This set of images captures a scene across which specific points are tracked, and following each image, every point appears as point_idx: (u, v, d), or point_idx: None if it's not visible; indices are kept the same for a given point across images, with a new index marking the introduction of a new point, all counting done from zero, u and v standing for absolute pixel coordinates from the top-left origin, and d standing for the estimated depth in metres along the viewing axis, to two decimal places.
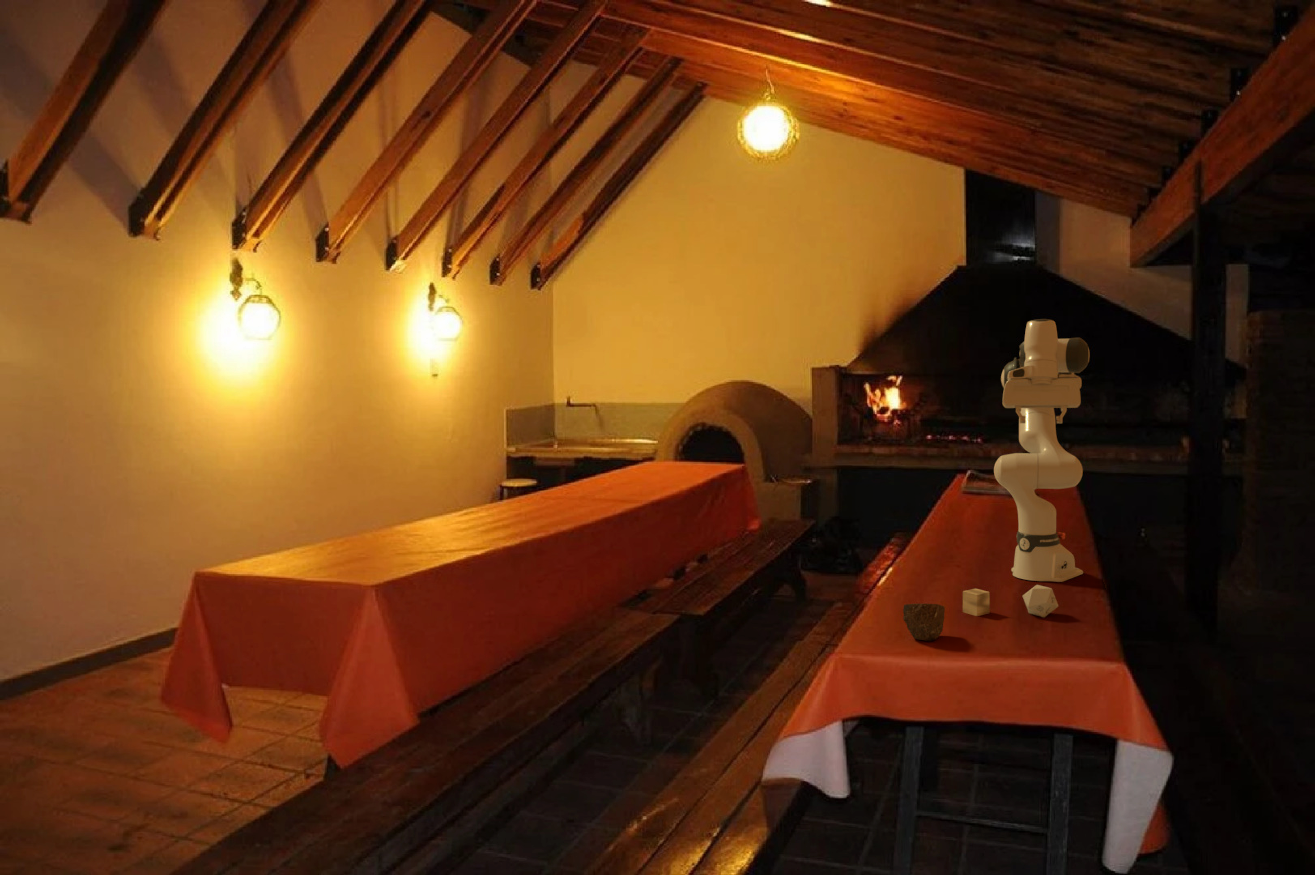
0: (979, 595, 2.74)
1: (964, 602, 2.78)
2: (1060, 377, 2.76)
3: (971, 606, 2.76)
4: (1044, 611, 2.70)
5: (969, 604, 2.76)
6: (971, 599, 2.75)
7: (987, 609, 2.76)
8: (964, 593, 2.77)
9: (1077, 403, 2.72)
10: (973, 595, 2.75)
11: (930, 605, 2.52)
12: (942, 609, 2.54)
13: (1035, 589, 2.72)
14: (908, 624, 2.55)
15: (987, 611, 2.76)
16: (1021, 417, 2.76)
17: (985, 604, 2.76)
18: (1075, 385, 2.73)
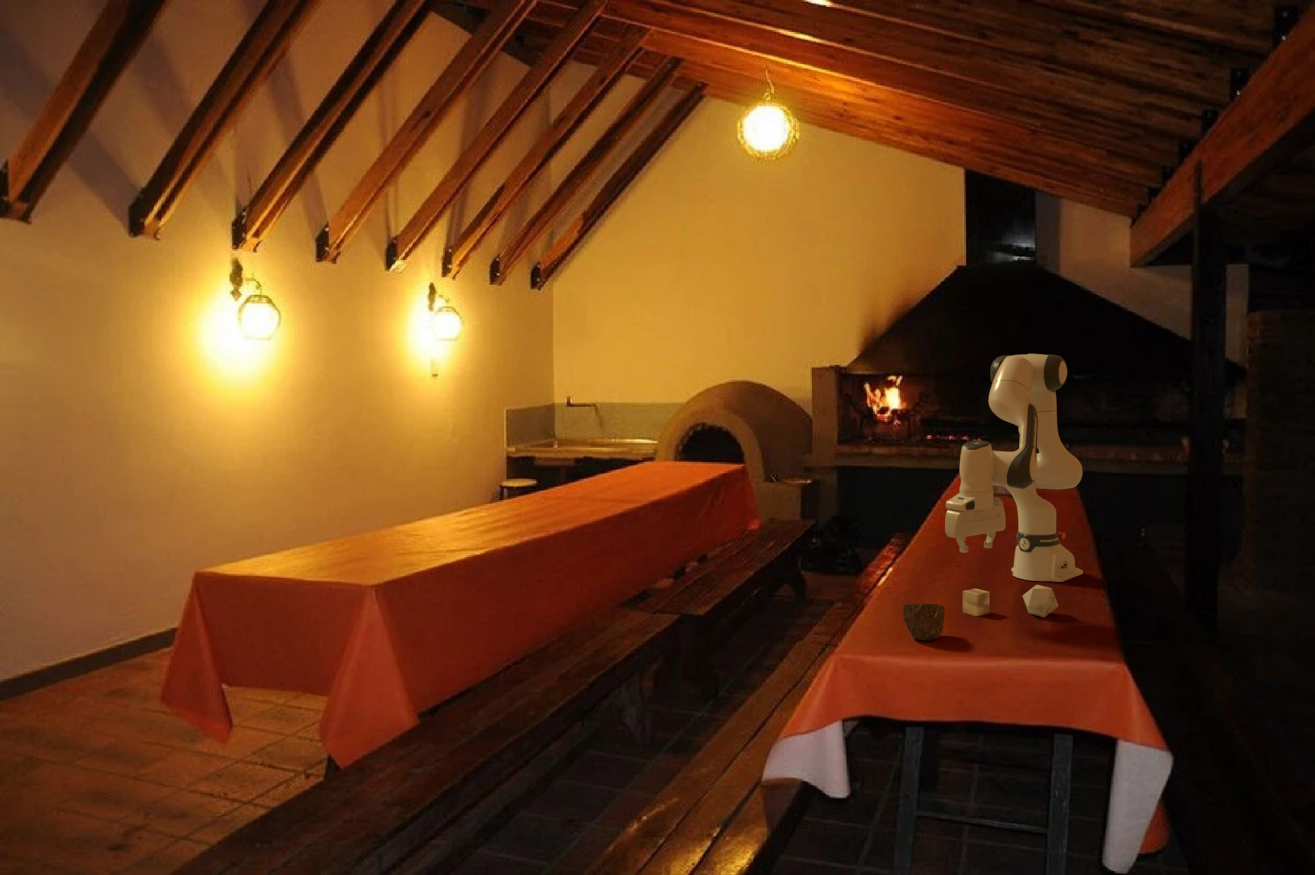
0: (979, 595, 2.74)
1: (964, 602, 2.78)
2: None
3: (971, 606, 2.76)
4: (1044, 611, 2.70)
5: (969, 604, 2.76)
6: (971, 599, 2.75)
7: (987, 609, 2.76)
8: (964, 593, 2.77)
9: (1003, 529, 2.79)
10: (973, 595, 2.75)
11: (930, 605, 2.52)
12: (942, 609, 2.54)
13: (1035, 589, 2.72)
14: (908, 624, 2.55)
15: (987, 611, 2.76)
16: (965, 548, 2.72)
17: (985, 604, 2.76)
18: (1003, 511, 2.78)
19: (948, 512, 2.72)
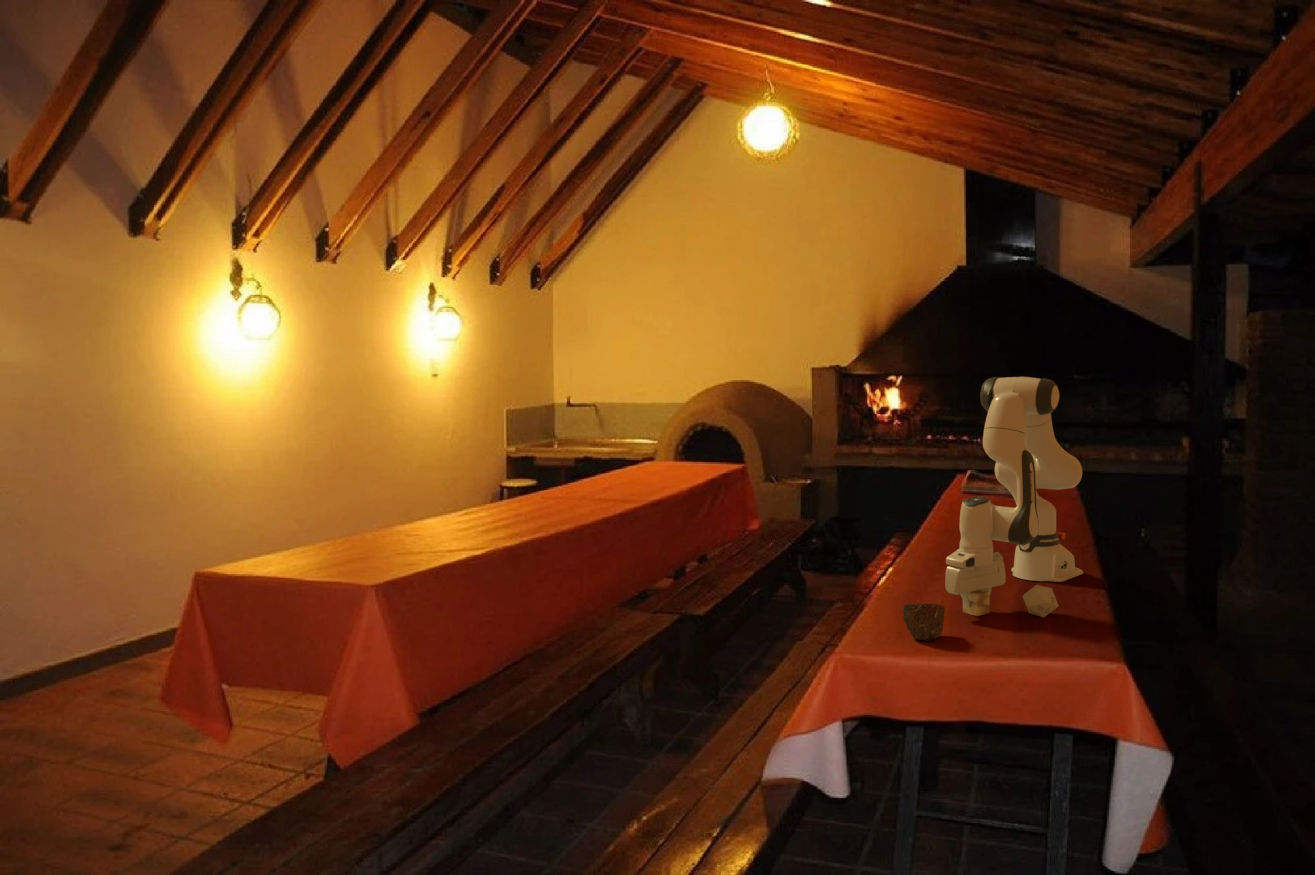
0: (979, 595, 2.74)
1: None
2: None
3: None
4: (1044, 611, 2.70)
5: None
6: (971, 599, 2.75)
7: (987, 609, 2.76)
8: None
9: (1003, 583, 2.80)
10: (973, 595, 2.75)
11: (930, 605, 2.52)
12: (942, 609, 2.54)
13: (1035, 589, 2.72)
14: (908, 624, 2.55)
15: (987, 611, 2.76)
16: (969, 603, 2.75)
17: (985, 604, 2.76)
18: (1002, 566, 2.79)
19: (948, 568, 2.73)
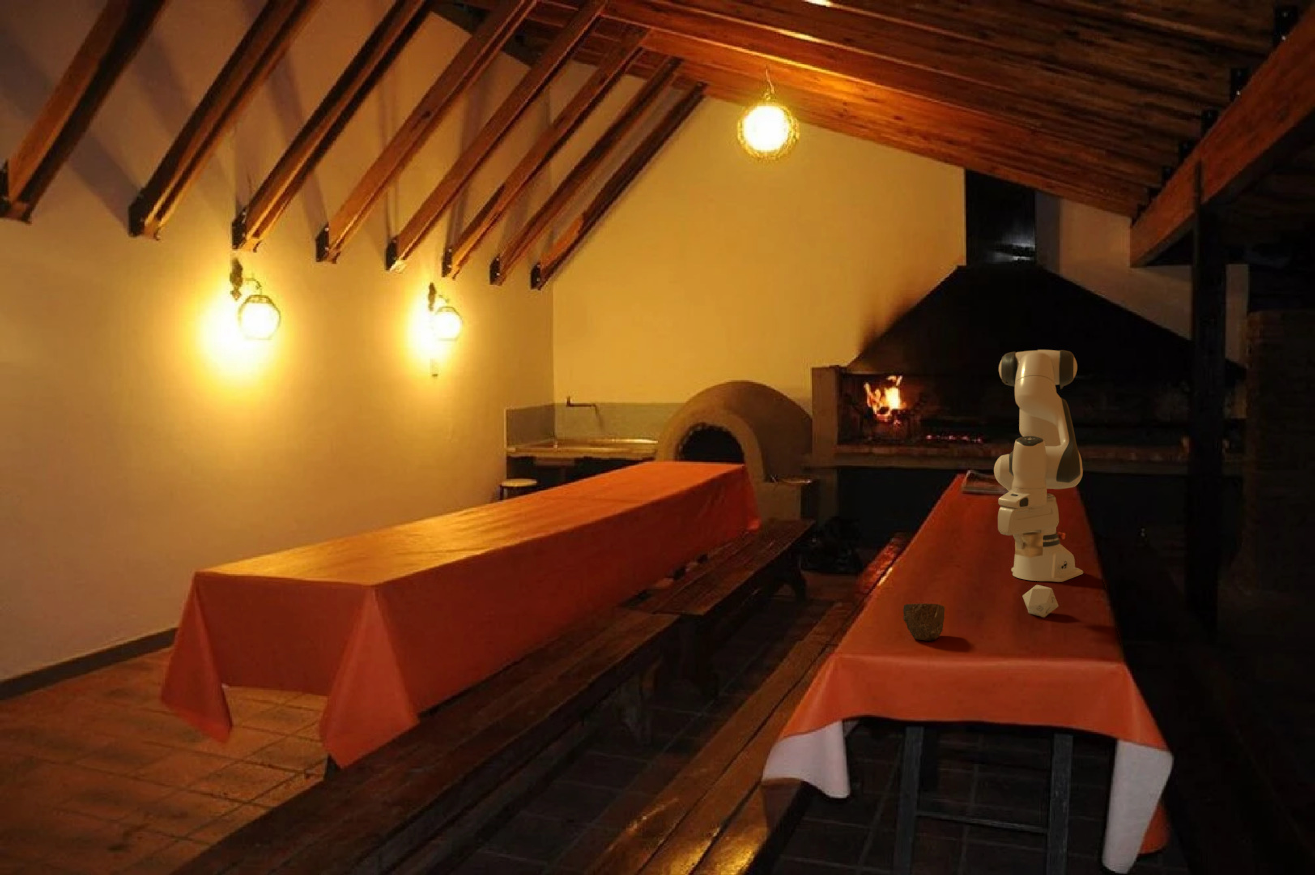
0: (1032, 536, 2.69)
1: None
2: None
3: None
4: (1044, 611, 2.70)
5: None
6: (1024, 540, 2.70)
7: (1040, 551, 2.71)
8: None
9: None
10: (1026, 536, 2.70)
11: (930, 605, 2.52)
12: (942, 609, 2.54)
13: (1035, 589, 2.72)
14: (908, 624, 2.55)
15: (1040, 553, 2.71)
16: (1022, 544, 2.70)
17: (1038, 545, 2.71)
18: (1056, 507, 2.74)
19: (1001, 509, 2.68)
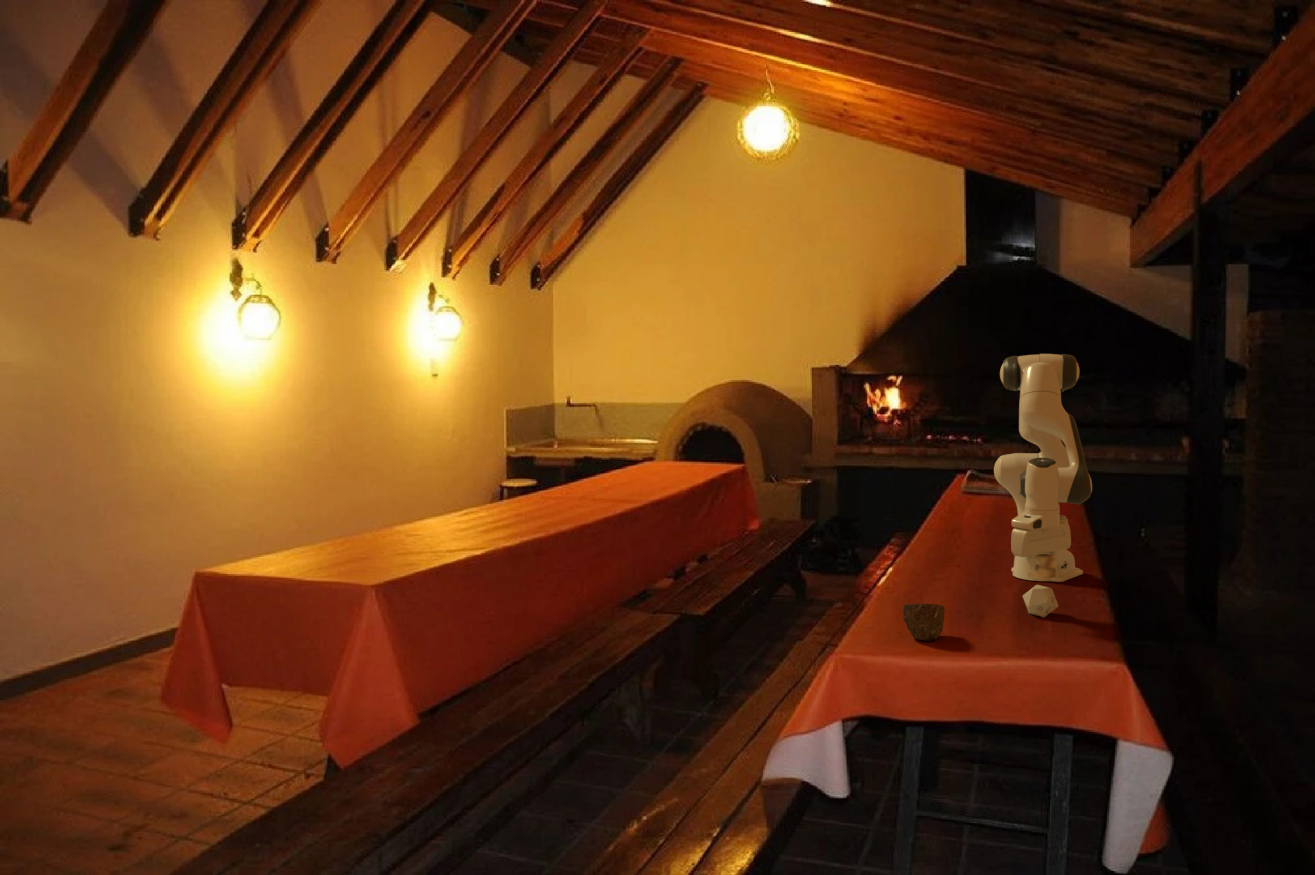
0: (1046, 558, 2.69)
1: None
2: None
3: None
4: (1044, 611, 2.70)
5: None
6: (1037, 562, 2.70)
7: (1053, 572, 2.71)
8: None
9: None
10: (1039, 558, 2.69)
11: (930, 605, 2.52)
12: (942, 609, 2.54)
13: (1035, 589, 2.72)
14: (908, 624, 2.55)
15: (1053, 574, 2.71)
16: (1035, 566, 2.69)
17: (1051, 567, 2.70)
18: (1068, 529, 2.74)
19: (1014, 531, 2.68)
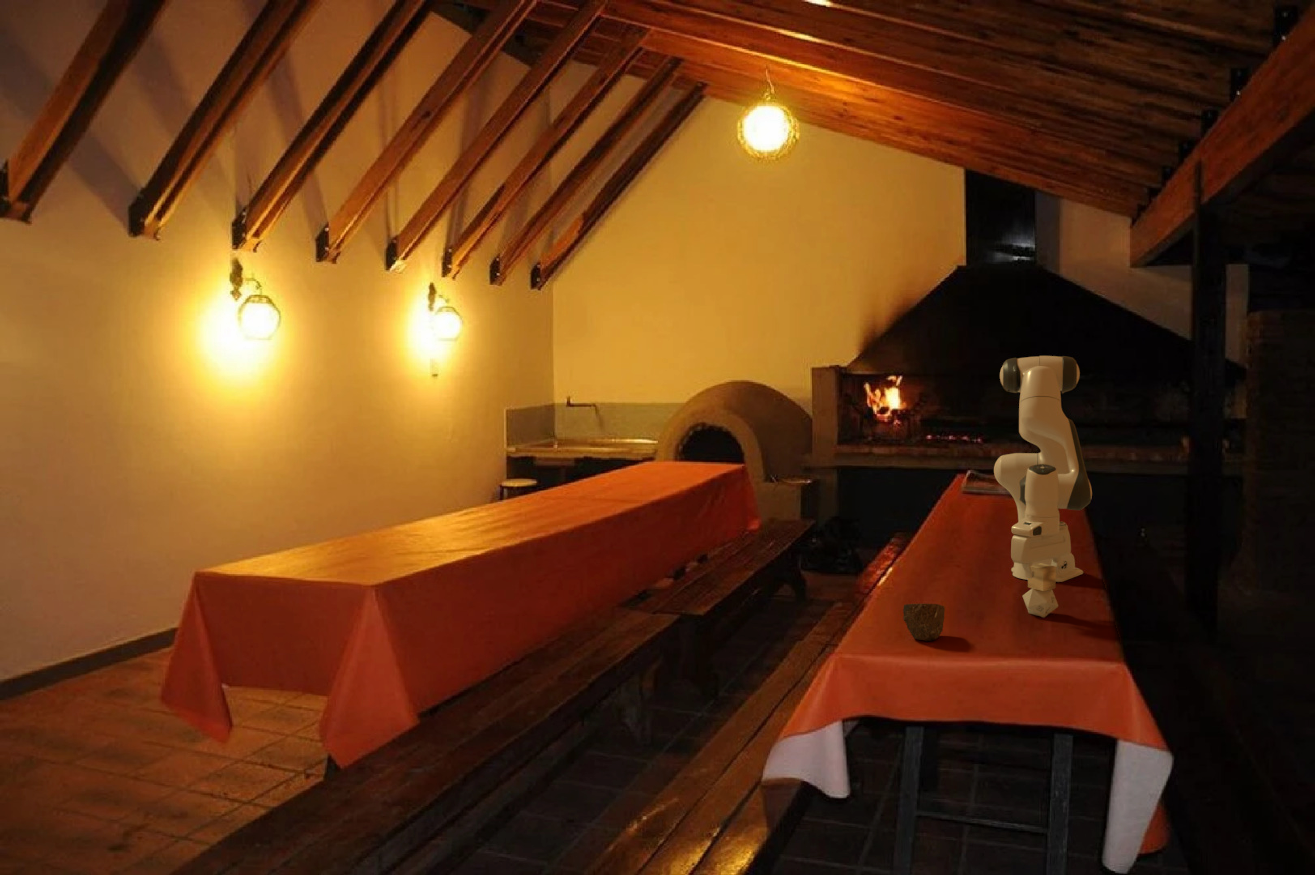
0: (1045, 569, 2.69)
1: None
2: None
3: (1037, 581, 2.71)
4: (1044, 611, 2.70)
5: (1035, 579, 2.71)
6: (1037, 574, 2.70)
7: (1053, 584, 2.71)
8: None
9: (1069, 553, 2.75)
10: (1039, 569, 2.70)
11: (930, 605, 2.52)
12: (942, 609, 2.54)
13: (1035, 589, 2.72)
14: (908, 624, 2.55)
15: (1053, 586, 2.71)
16: (1031, 573, 2.69)
17: (1051, 578, 2.71)
18: (1068, 536, 2.74)
19: (1014, 537, 2.68)
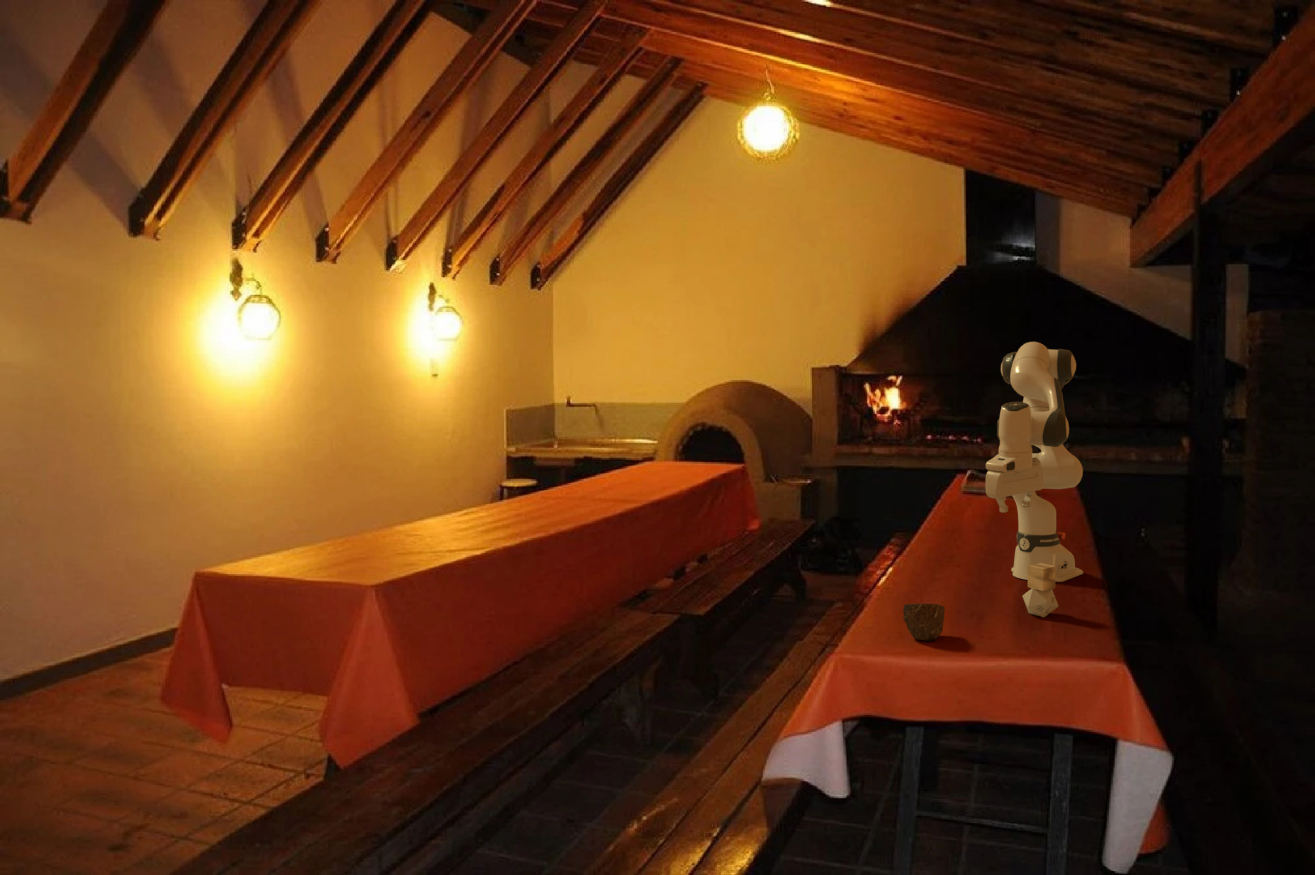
0: (1045, 569, 2.69)
1: (1029, 577, 2.73)
2: None
3: (1037, 581, 2.71)
4: (1044, 611, 2.70)
5: (1034, 579, 2.71)
6: (1037, 574, 2.70)
7: (1053, 584, 2.71)
8: (1029, 567, 2.72)
9: (1041, 488, 2.83)
10: (1039, 569, 2.70)
11: (930, 605, 2.52)
12: (942, 609, 2.54)
13: (1035, 589, 2.72)
14: (908, 624, 2.55)
15: (1053, 586, 2.71)
16: (1005, 508, 2.77)
17: (1051, 578, 2.71)
18: (1041, 471, 2.82)
19: (988, 473, 2.75)
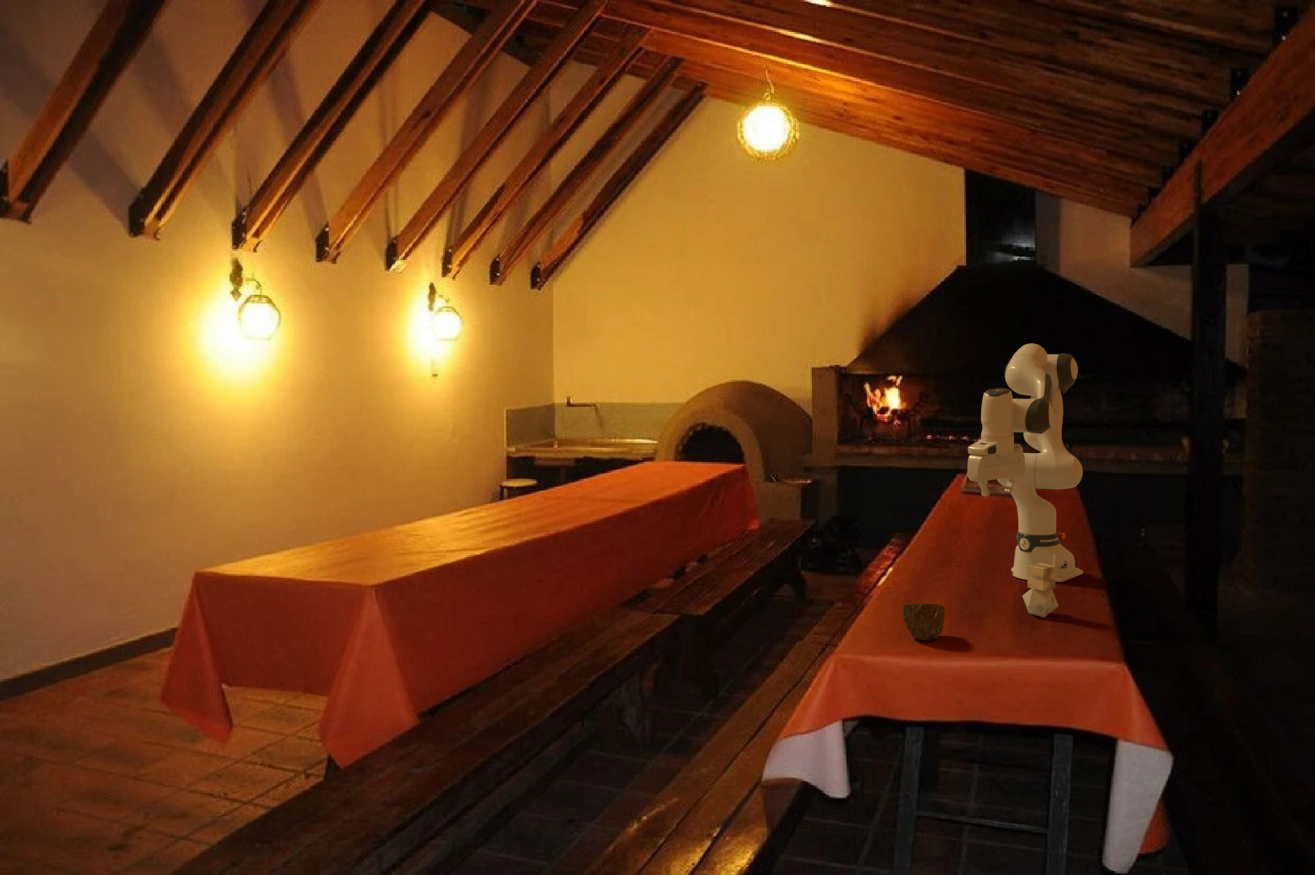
0: (1045, 569, 2.69)
1: (1029, 577, 2.73)
2: None
3: (1037, 581, 2.71)
4: (1044, 611, 2.70)
5: (1034, 579, 2.71)
6: (1037, 574, 2.70)
7: (1053, 584, 2.71)
8: (1029, 567, 2.72)
9: (1023, 474, 2.88)
10: (1039, 569, 2.70)
11: (930, 605, 2.52)
12: (942, 609, 2.54)
13: (1035, 589, 2.72)
14: (908, 624, 2.55)
15: (1053, 586, 2.71)
16: (987, 491, 2.82)
17: (1051, 578, 2.71)
18: (1023, 457, 2.88)
19: (970, 457, 2.82)
